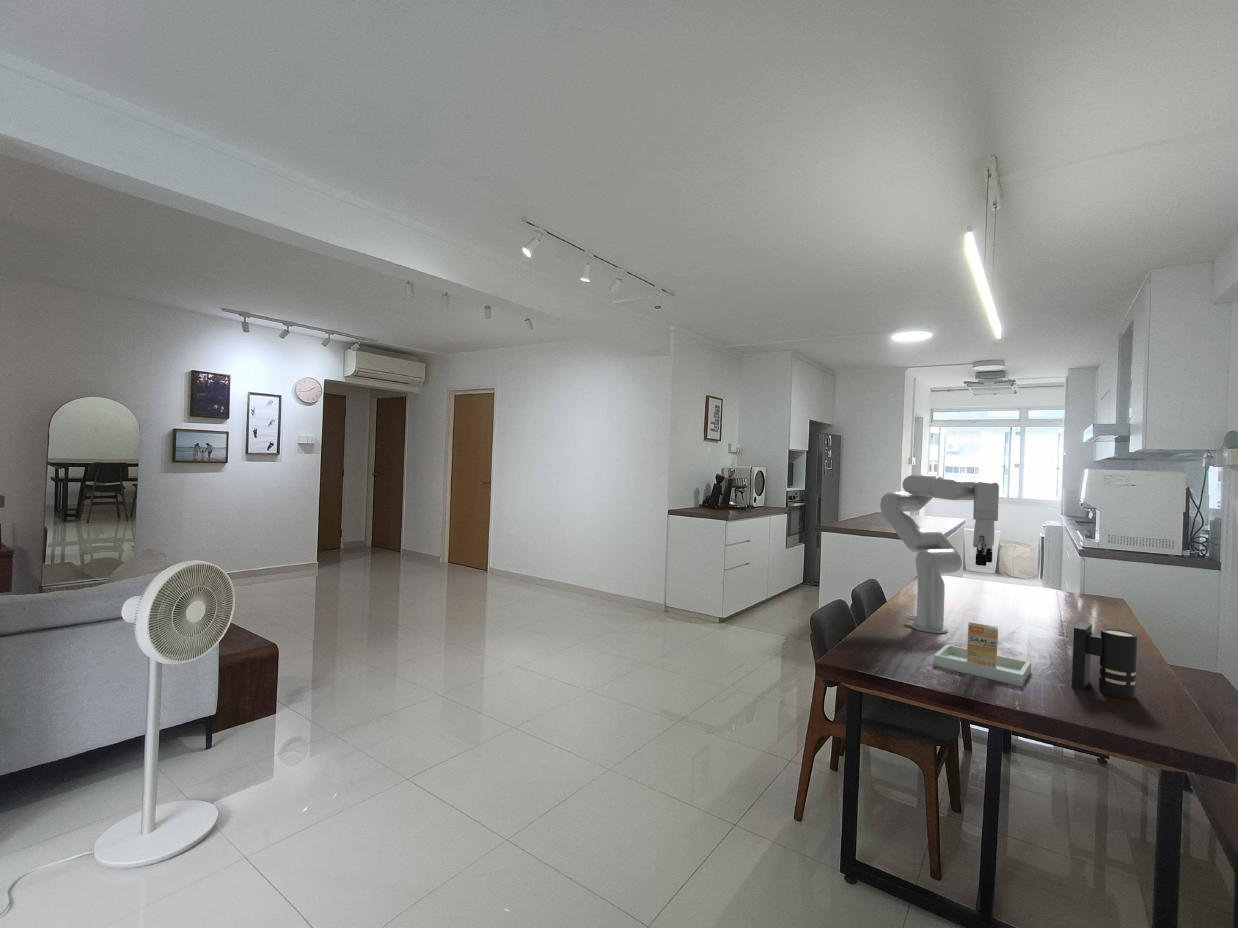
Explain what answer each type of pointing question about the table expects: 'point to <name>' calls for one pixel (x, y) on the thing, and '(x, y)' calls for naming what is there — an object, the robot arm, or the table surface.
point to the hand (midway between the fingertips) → (983, 563)
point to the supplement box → (982, 644)
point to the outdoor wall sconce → (1105, 660)
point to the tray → (984, 666)
